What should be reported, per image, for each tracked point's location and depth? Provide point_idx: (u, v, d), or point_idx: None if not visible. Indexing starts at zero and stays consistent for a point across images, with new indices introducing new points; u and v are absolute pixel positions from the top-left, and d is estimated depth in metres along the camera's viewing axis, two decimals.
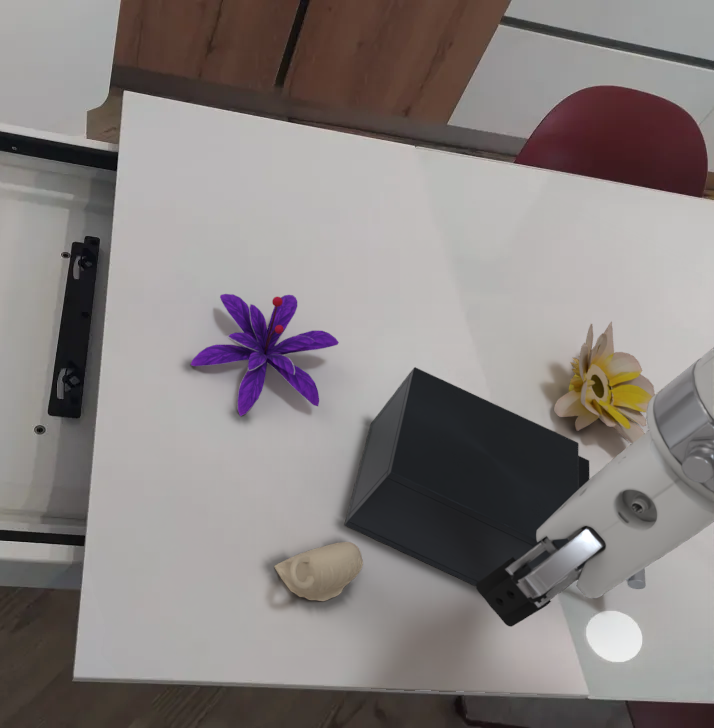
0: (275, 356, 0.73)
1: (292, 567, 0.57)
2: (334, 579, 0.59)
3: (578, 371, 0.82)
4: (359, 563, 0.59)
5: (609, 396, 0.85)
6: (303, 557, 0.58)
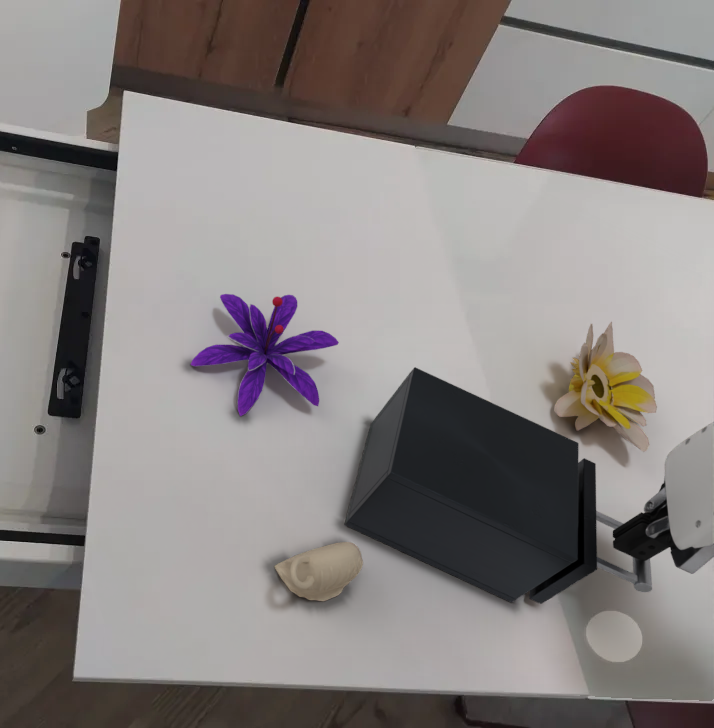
0: (275, 356, 0.73)
1: (292, 567, 0.57)
2: (334, 579, 0.59)
3: (578, 371, 0.82)
4: (359, 563, 0.59)
5: (609, 396, 0.85)
6: (303, 557, 0.58)
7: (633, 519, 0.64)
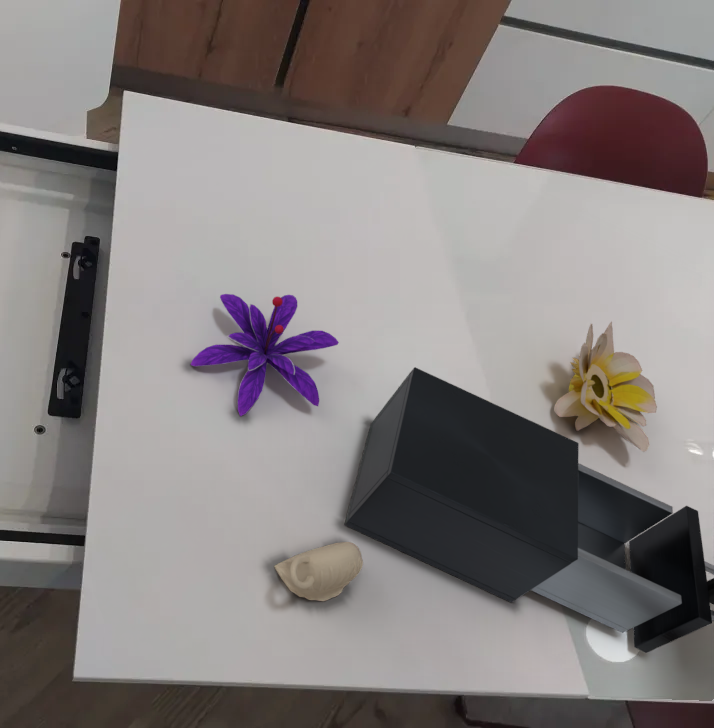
0: (275, 356, 0.73)
1: (292, 567, 0.57)
2: (334, 579, 0.59)
3: (578, 371, 0.82)
4: (359, 563, 0.59)
5: (609, 396, 0.85)
6: (303, 557, 0.58)
7: None
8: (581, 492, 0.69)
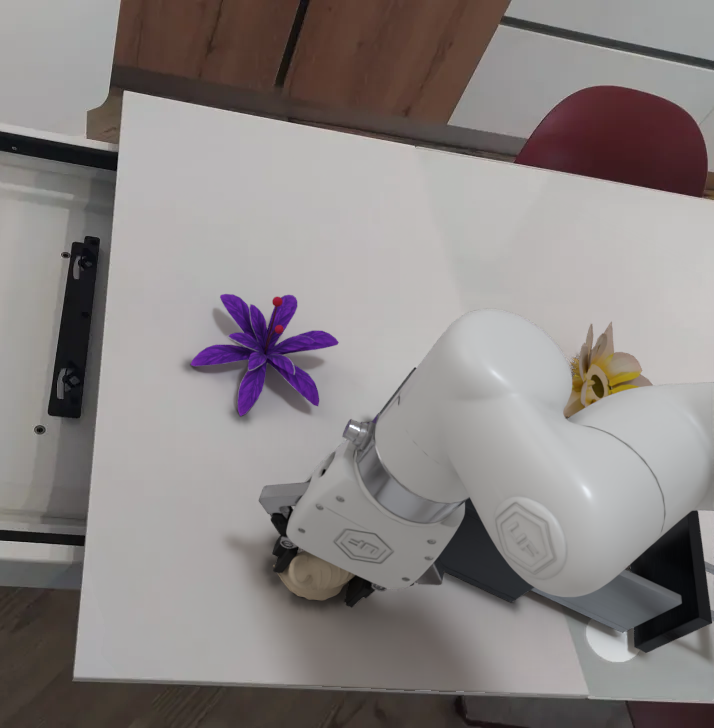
0: (275, 356, 0.73)
1: (291, 566, 0.57)
2: (333, 578, 0.59)
3: (578, 371, 0.82)
4: None
5: None
6: (302, 556, 0.58)
7: None
8: None
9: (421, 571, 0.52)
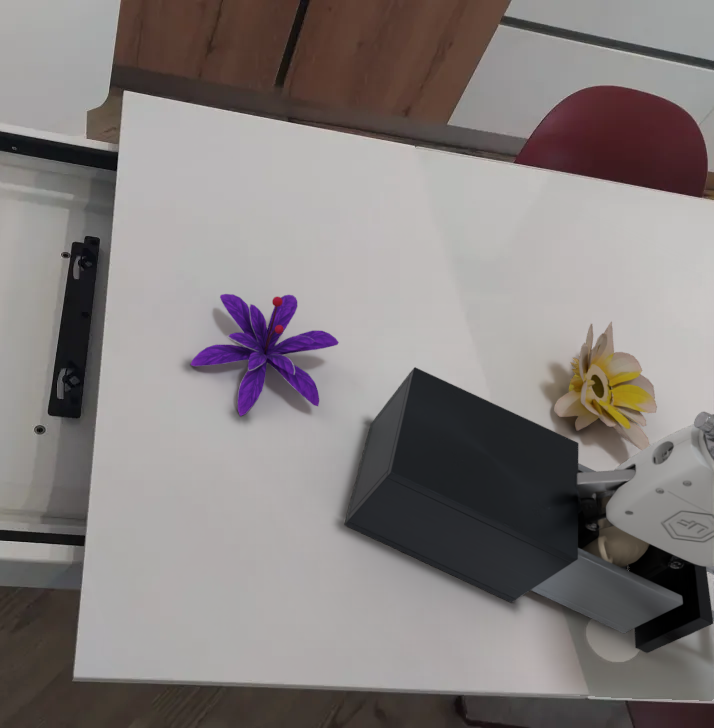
0: (275, 356, 0.73)
1: (601, 545, 0.62)
2: (630, 557, 0.64)
3: (578, 371, 0.82)
4: None
5: (609, 396, 0.85)
6: (604, 537, 0.64)
7: None
8: None
9: None
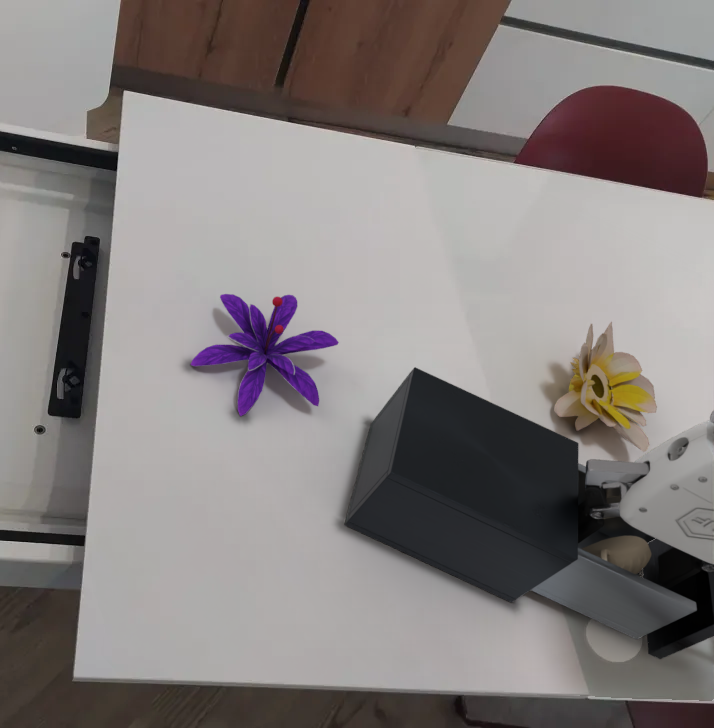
0: (275, 356, 0.73)
1: (604, 559, 0.63)
2: (632, 569, 0.65)
3: (578, 371, 0.82)
4: (650, 554, 0.66)
5: (609, 396, 0.85)
6: (607, 550, 0.64)
7: None
8: None
9: None
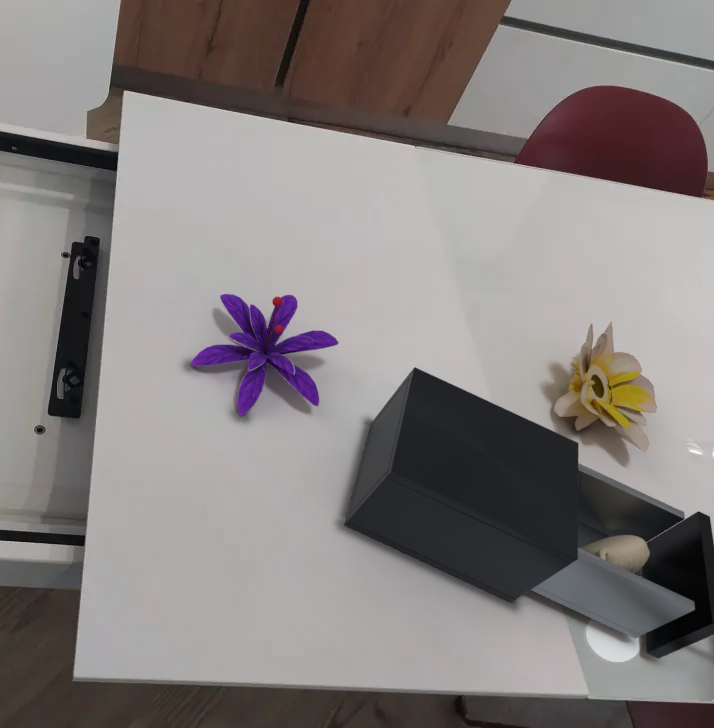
0: (275, 356, 0.73)
1: None
2: (630, 568, 0.65)
3: (578, 371, 0.82)
4: (648, 554, 0.66)
5: (609, 396, 0.85)
6: (605, 549, 0.64)
7: None
8: (593, 497, 0.69)
9: None
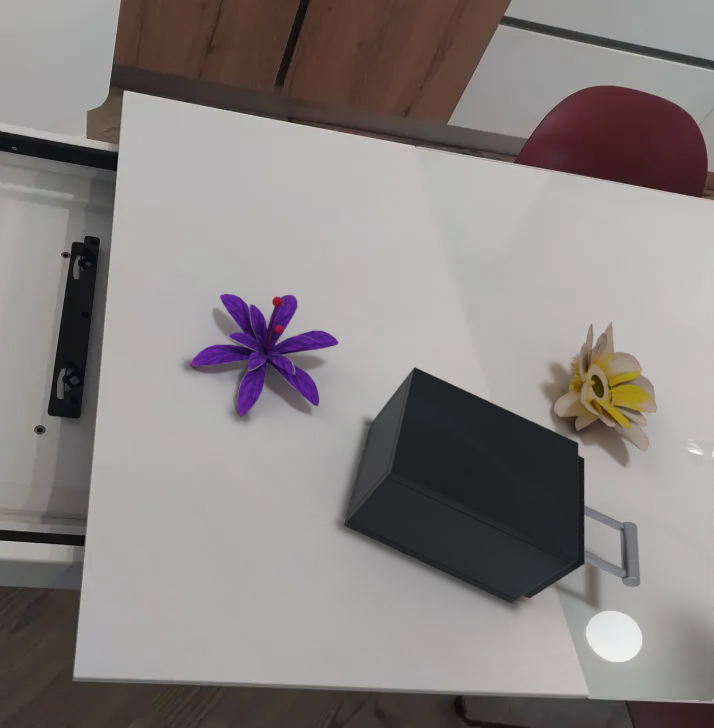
0: (275, 356, 0.73)
1: None
2: None
3: (578, 371, 0.82)
4: None
5: (609, 396, 0.85)
6: None
7: None
8: None
9: None
